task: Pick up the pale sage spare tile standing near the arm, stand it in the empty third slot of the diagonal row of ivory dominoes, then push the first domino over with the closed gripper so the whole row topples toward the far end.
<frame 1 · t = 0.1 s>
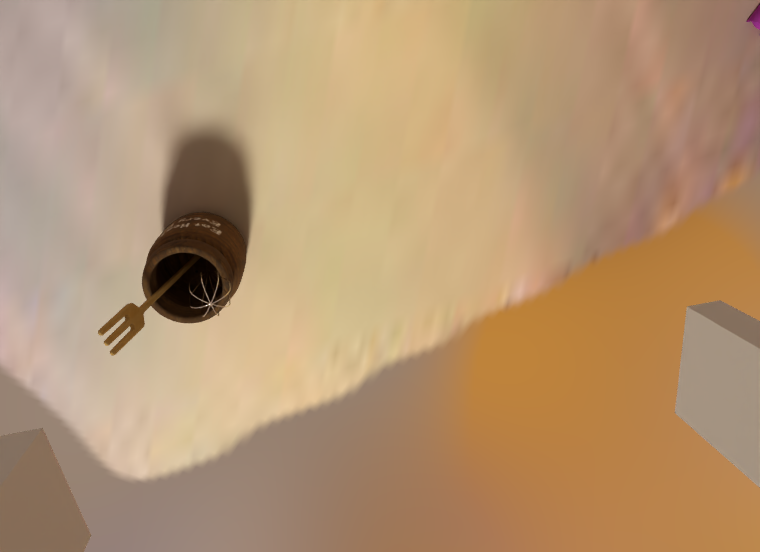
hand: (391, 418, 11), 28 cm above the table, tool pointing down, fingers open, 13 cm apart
utensil holder: (204, 249, 37), on the table
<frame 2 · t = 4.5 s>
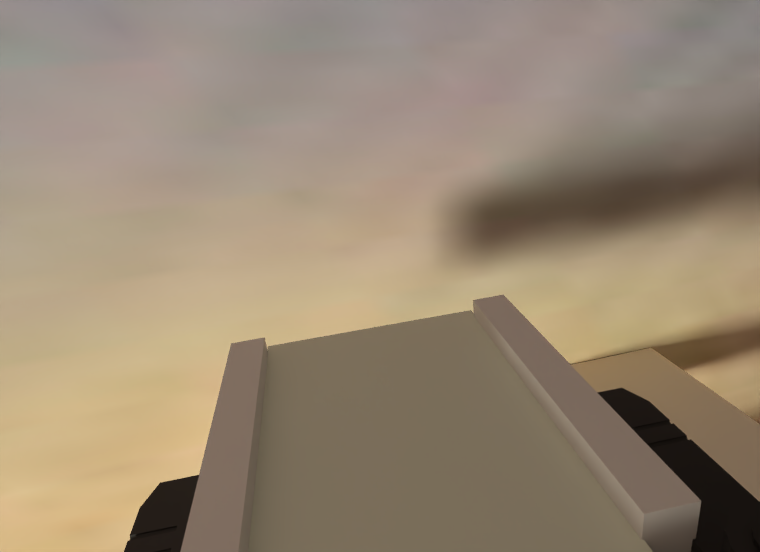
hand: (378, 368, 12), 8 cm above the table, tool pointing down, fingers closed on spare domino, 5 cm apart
domino 1: (601, 374, 24), on the table
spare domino: (376, 359, 13), point 8 cm above the table, touching gripper
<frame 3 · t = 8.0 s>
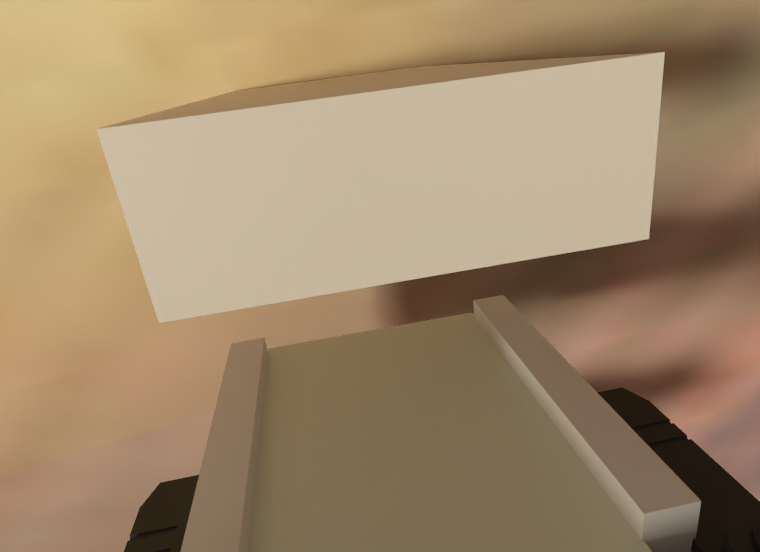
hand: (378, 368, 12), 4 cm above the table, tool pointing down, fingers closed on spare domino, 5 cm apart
domino 2: (334, 113, 14), on the table
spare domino: (376, 362, 13), point 4 cm above the table, touching gripper
when the fingers open (1 cm above the table, at t = 9.0 s): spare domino stays where it is, on the table.
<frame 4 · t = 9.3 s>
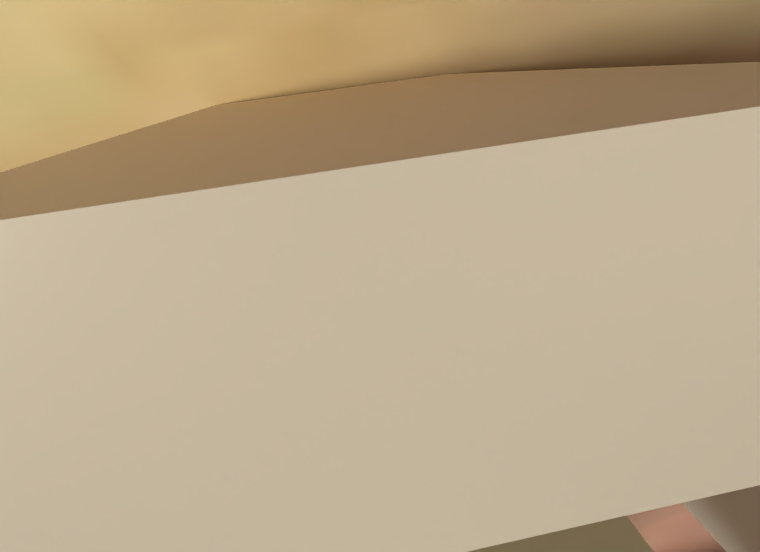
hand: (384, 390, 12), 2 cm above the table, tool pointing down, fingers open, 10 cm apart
domino 2: (340, 132, 11), on the table
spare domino: (372, 348, 13), on the table
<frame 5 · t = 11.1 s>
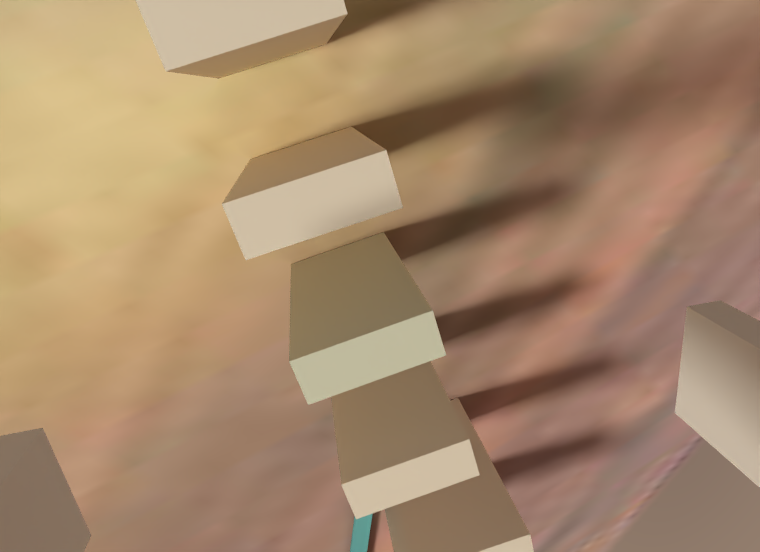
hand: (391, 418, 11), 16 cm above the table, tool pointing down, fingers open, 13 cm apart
domino 4: (373, 352, 29), on the table
domino 1: (265, 39, 22), on the table
domino 2: (307, 161, 24), on the table
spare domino: (343, 263, 26), on the table
domino 6: (423, 495, 33), on the table
domino 5: (421, 422, 31), on the table
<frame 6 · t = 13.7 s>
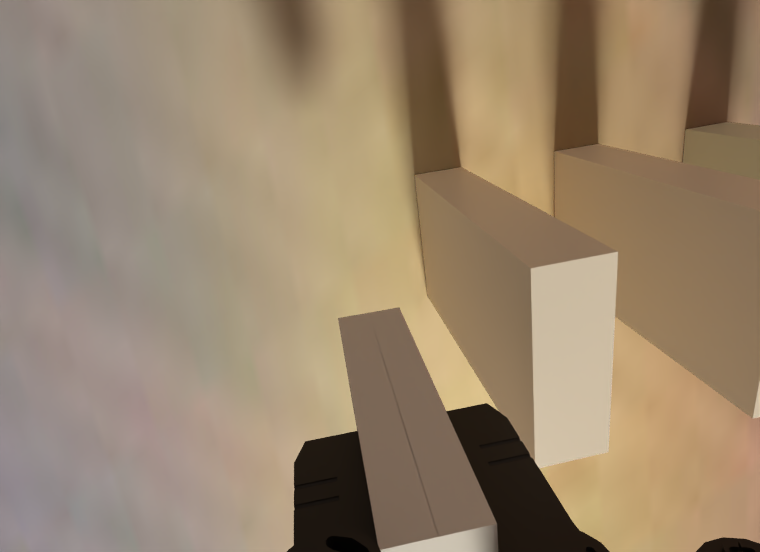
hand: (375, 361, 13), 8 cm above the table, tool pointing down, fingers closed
domino 1: (443, 234, 20), on the table
domino 2: (575, 210, 21), on the table
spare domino: (700, 187, 21), on the table
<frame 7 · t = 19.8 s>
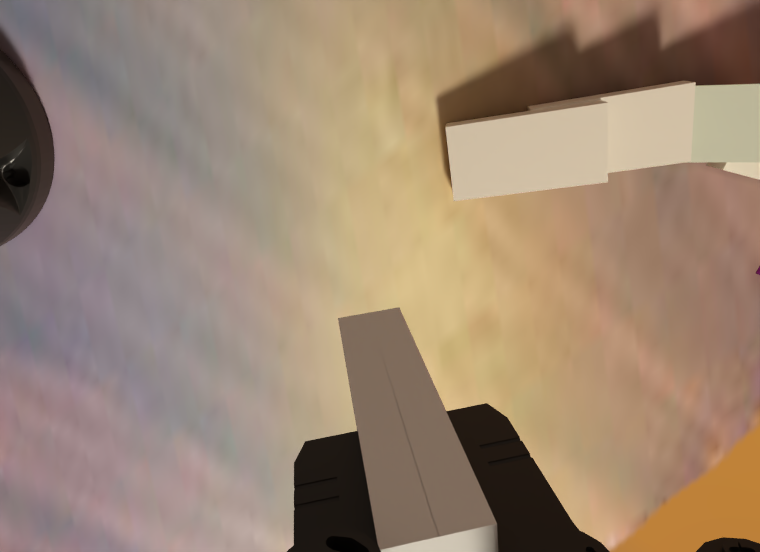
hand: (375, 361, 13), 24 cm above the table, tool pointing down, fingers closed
domino 4: (730, 133, 37), point 2 cm above the table, tilted 87°, touching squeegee
domino 1: (449, 162, 35), point 1 cm above the table, tilted 73°, touching domino 2
domino 2: (531, 144, 36), point 1 cm above the table, tilted 74°, touching domino 1
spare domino: (641, 124, 36), point 1 cm above the table, tilted 67°
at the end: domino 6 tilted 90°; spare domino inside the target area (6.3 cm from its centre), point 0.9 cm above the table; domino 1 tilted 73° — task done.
